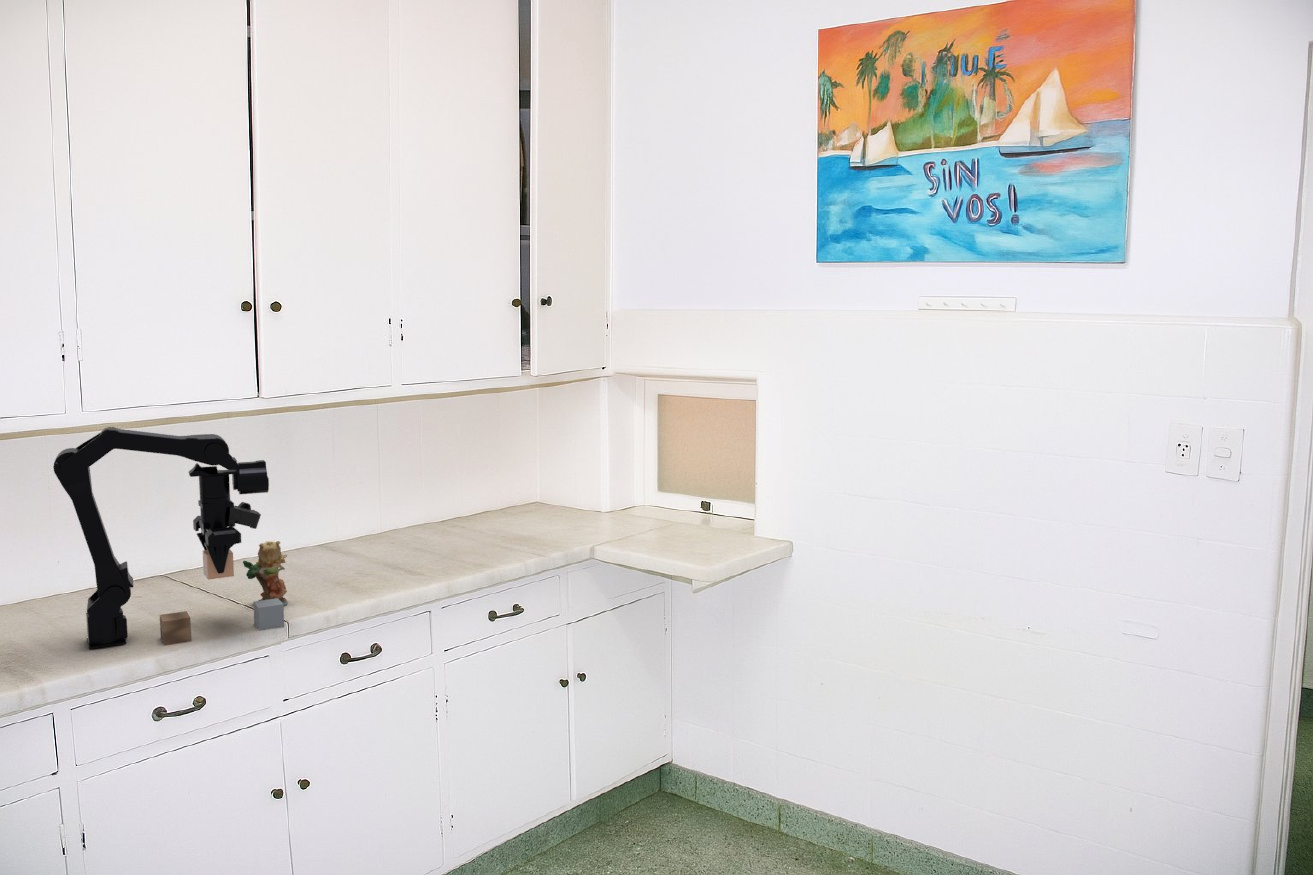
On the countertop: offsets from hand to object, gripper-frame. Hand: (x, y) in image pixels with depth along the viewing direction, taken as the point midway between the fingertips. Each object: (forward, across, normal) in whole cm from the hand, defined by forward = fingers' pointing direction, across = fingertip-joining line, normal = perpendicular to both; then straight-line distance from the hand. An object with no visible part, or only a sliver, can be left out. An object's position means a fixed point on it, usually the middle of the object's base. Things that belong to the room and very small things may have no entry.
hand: (218, 570), depth 212 cm
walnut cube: (+13, -3, +9) cm, 16 cm away
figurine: (+13, +12, -12) cm, 21 cm away
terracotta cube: (+1, 0, 0) cm, 1 cm away
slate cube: (+13, -3, -9) cm, 16 cm away
